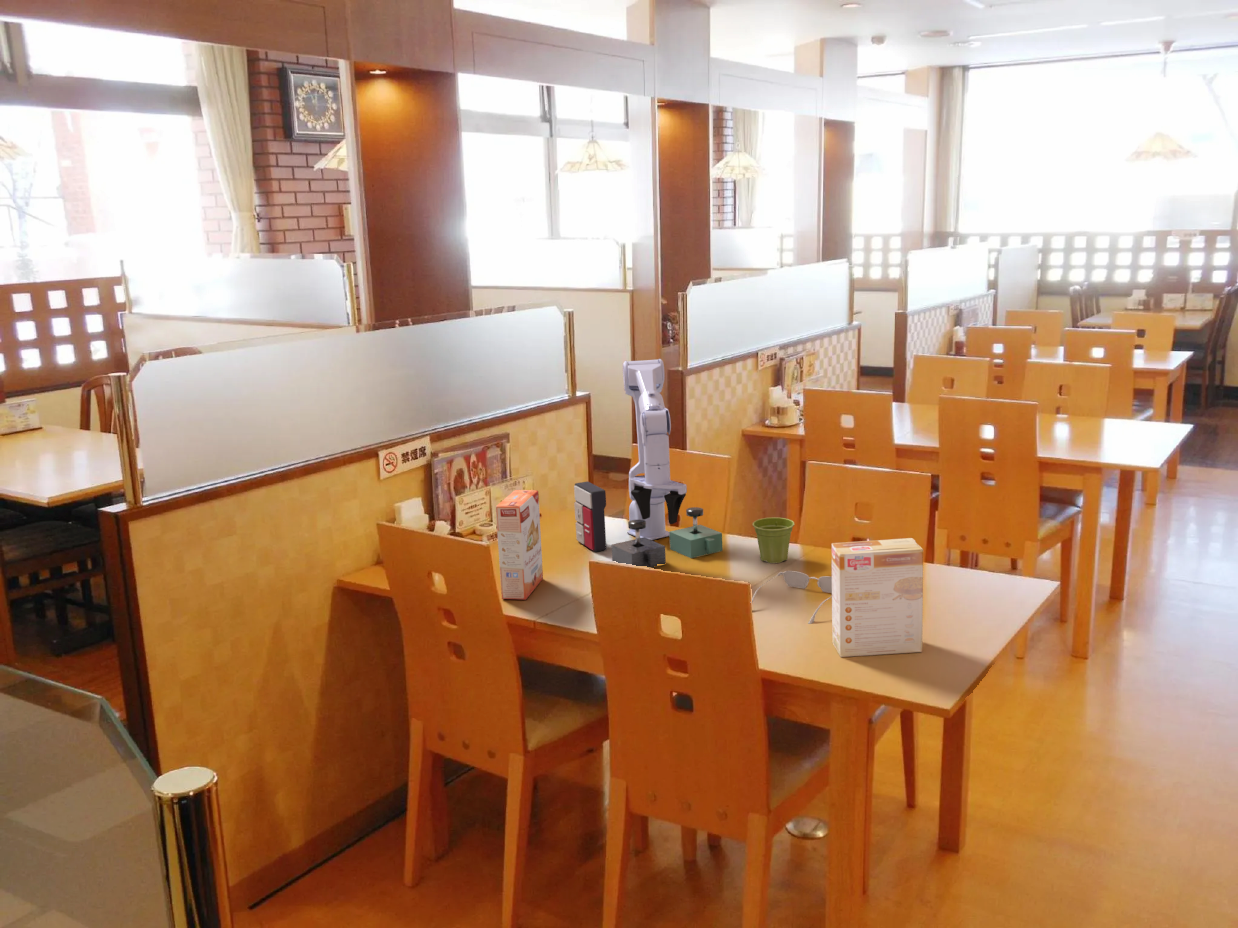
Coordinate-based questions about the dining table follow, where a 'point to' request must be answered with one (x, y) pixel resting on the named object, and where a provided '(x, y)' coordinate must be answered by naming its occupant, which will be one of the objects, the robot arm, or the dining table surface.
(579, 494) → the red grey tall block
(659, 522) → the robot arm
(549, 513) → the dining table surface
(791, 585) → the eyeglasses
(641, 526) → the charcoal plunger
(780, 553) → the plant pot
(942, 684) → the dining table surface
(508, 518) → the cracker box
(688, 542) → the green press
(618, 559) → the charcoal press
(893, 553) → the coffeecake box
